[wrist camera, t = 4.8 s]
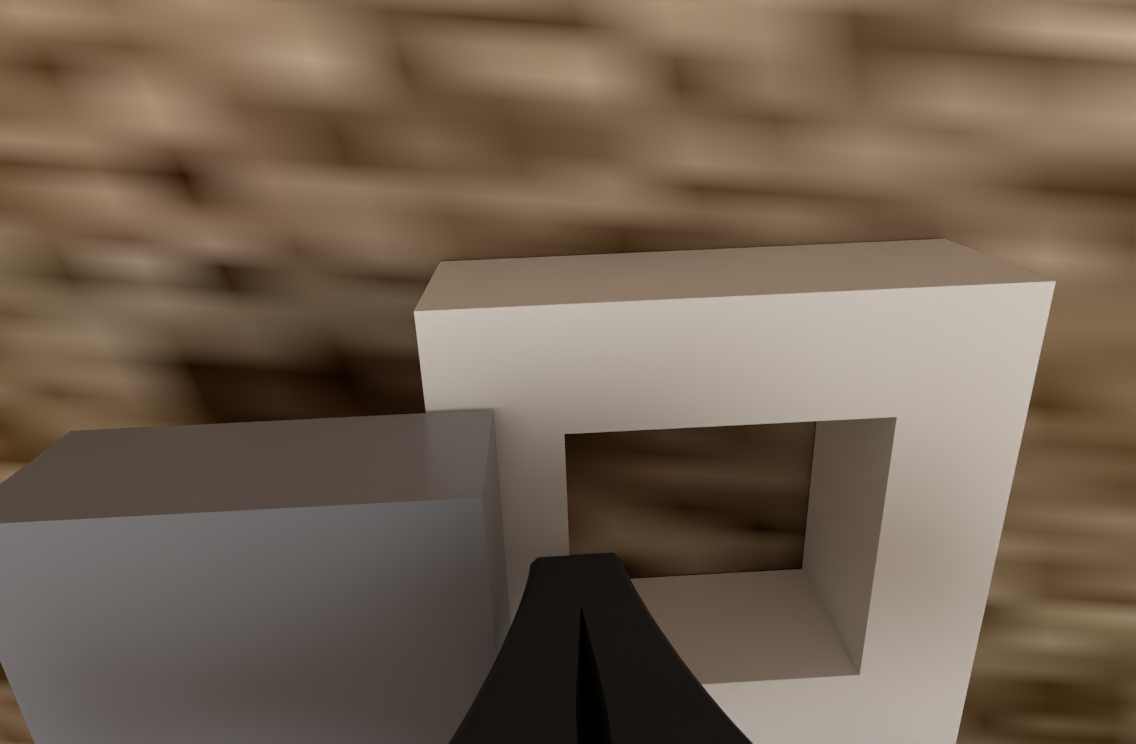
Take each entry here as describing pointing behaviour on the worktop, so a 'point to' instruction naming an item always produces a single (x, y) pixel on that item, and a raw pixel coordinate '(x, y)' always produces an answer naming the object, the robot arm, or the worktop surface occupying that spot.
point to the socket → (763, 396)
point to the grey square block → (255, 581)
